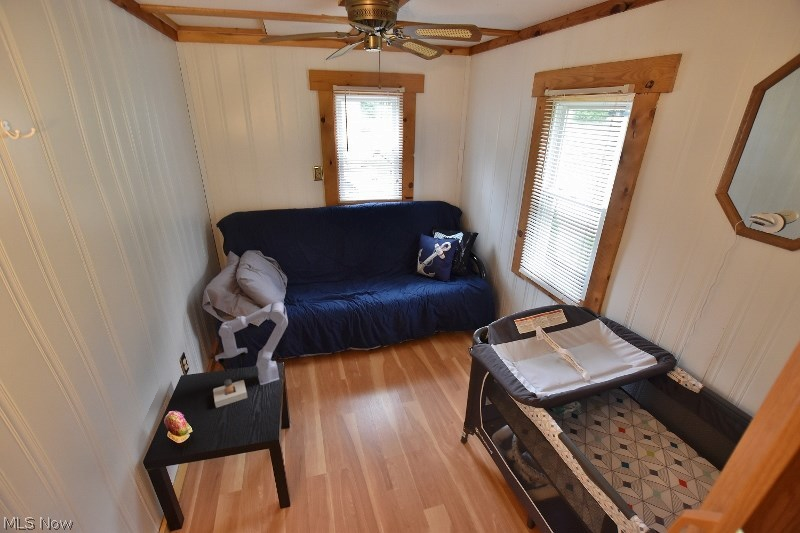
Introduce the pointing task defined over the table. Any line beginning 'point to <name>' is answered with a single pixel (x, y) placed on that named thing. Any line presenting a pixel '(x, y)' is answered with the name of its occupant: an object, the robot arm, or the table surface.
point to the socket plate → (230, 398)
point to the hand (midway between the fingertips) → (234, 367)
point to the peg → (228, 386)
